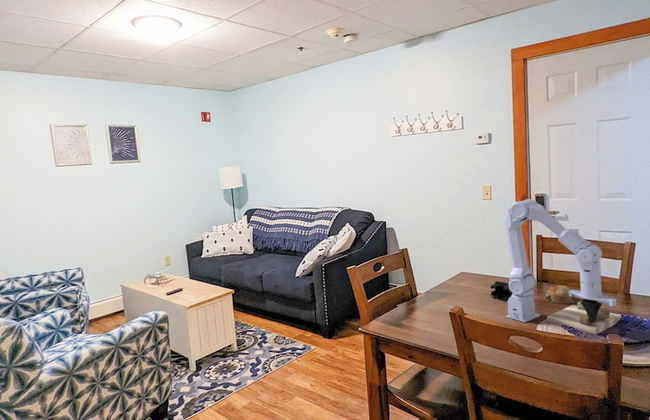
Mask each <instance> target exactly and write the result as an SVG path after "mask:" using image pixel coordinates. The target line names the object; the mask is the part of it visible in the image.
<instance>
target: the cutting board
mask: <svg viewBox="0 0 650 420" xmlns="http://www.w3.org/2000/svg"><path fill="white" fill-rule="evenodd" d="M581 301H582V300H580V301H578V302H576V303H577V305H575V304H572V305H569V306H567V307H565V308H562V309H560V310H558V311H556V312H554V313H552V314H549V315H547V316H546V320H547V323H551V324H554V325H557V326H561V325H566V326H569V327H573V328H575V329H574V330H576V329H578V330H577V331H582V332H584V333H588V334H593V335H595V336H596V335H598V334H600V333H601V332H604V331H605V330H607V329H609V328H611V327H612V326H614V325H616V324H618V323H619V322H618V321H619V320H620V318H621V319H622V315H621V314H618V313H612V312H609V318H606V319H603V320H600V321H597V322H594V323H591V324H589V325H585V324H582V323H580V317H582V316H585V315H587V312H586V310H585V309H584V307H583V306H582V304H581ZM600 310H601V309H599V311H600ZM617 322H618V323H617ZM569 327H568V328H569ZM573 328H572V329H573Z"/></svg>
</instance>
